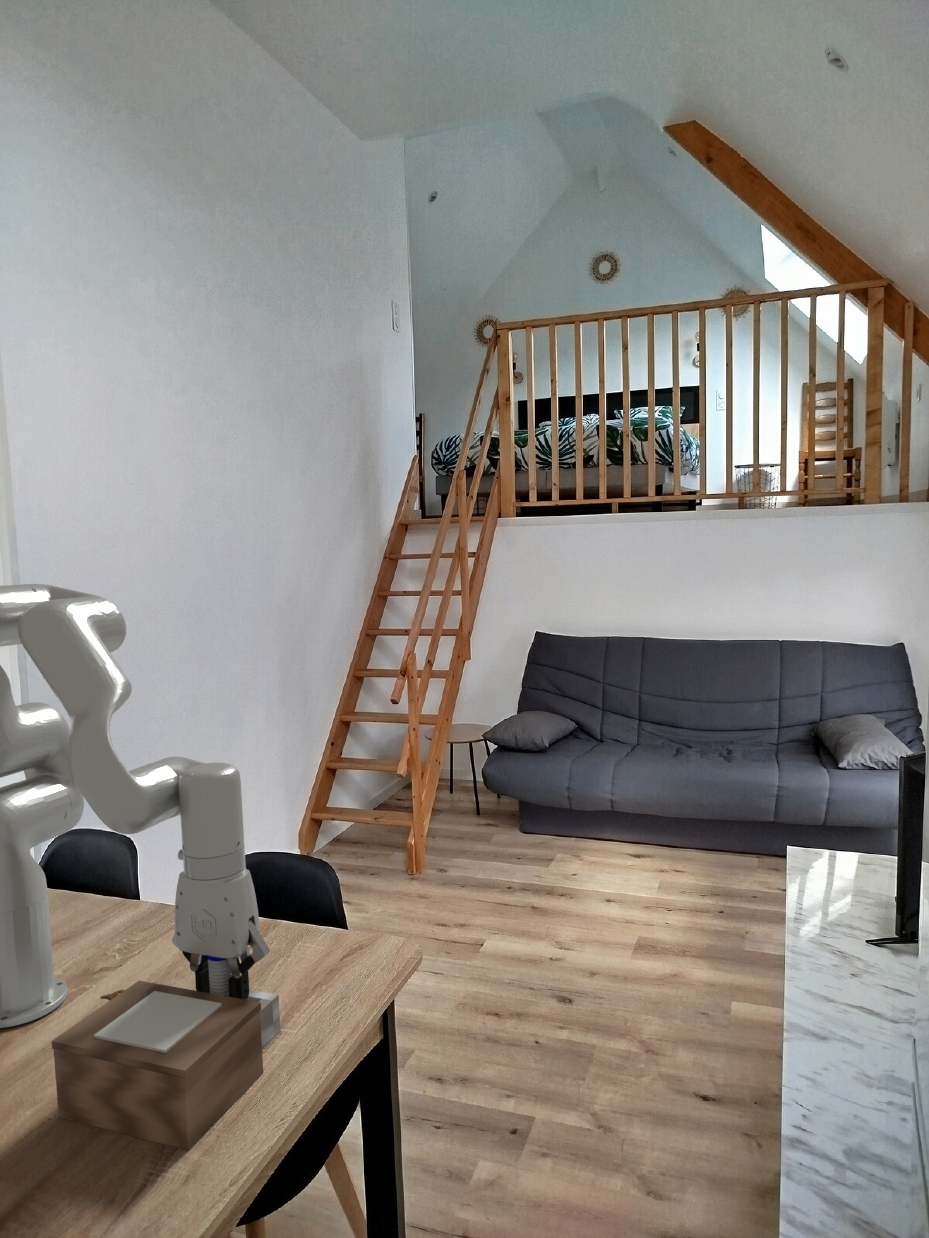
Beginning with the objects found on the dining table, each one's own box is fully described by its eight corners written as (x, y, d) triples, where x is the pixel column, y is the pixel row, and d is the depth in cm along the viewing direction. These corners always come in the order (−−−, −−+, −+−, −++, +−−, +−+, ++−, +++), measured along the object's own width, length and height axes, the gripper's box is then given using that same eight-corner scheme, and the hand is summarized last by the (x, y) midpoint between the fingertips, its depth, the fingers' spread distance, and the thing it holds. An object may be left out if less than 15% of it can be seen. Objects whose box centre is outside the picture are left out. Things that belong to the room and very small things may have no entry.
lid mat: (93, 1037, 96) (93, 1034, 96) (154, 993, 105) (154, 990, 105) (165, 1052, 92) (165, 1050, 92) (221, 1005, 102) (221, 1003, 102)
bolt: (250, 1033, 111) (239, 1056, 106) (212, 1034, 111) (200, 1057, 106) (243, 919, 110) (232, 937, 105) (205, 920, 110) (192, 938, 105)
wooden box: (57, 1116, 96) (51, 1040, 95) (186, 1012, 117) (182, 950, 116) (190, 1150, 90) (185, 1070, 89) (301, 1034, 111) (297, 968, 110)
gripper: (140, 866, 106) (150, 1004, 108) (254, 880, 100) (262, 1026, 102) (179, 845, 113) (188, 976, 115) (288, 857, 107) (295, 994, 109)
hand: (223, 998), depth 108 cm, fingers open, 4 cm apart
